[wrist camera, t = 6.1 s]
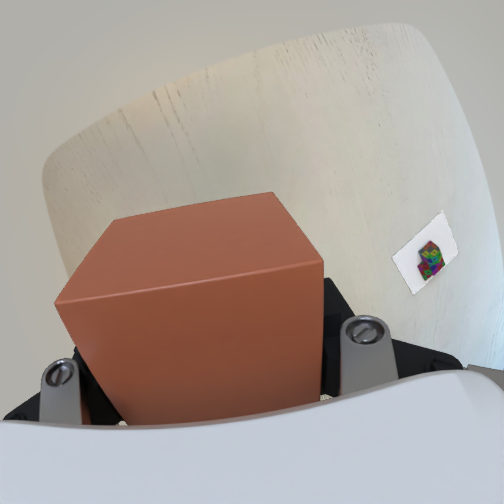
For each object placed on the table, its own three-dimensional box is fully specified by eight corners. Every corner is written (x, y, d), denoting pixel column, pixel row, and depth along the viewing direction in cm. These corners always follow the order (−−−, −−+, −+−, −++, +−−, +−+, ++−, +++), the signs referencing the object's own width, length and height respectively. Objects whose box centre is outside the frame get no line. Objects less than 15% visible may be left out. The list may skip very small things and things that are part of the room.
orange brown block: (113, 219, 10) (52, 302, 5) (272, 191, 10) (324, 259, 6) (165, 366, 13) (157, 463, 8) (286, 347, 13) (317, 442, 9)
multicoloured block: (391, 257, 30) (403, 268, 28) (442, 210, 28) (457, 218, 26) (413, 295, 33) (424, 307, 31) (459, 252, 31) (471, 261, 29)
